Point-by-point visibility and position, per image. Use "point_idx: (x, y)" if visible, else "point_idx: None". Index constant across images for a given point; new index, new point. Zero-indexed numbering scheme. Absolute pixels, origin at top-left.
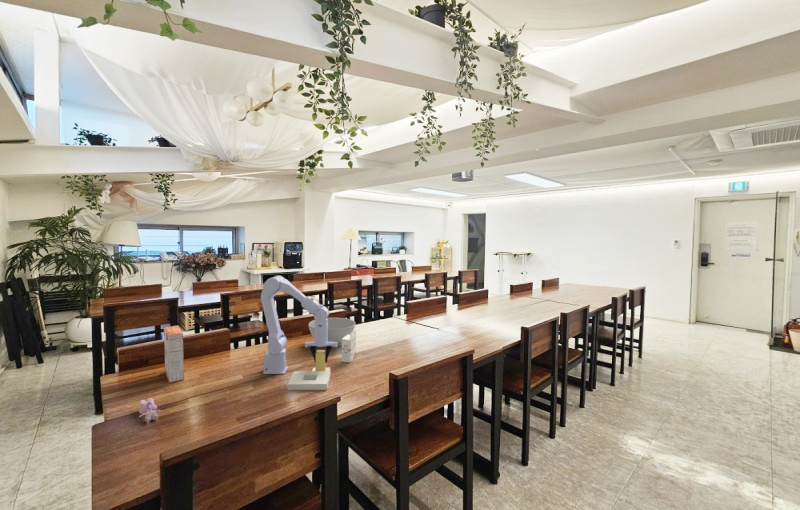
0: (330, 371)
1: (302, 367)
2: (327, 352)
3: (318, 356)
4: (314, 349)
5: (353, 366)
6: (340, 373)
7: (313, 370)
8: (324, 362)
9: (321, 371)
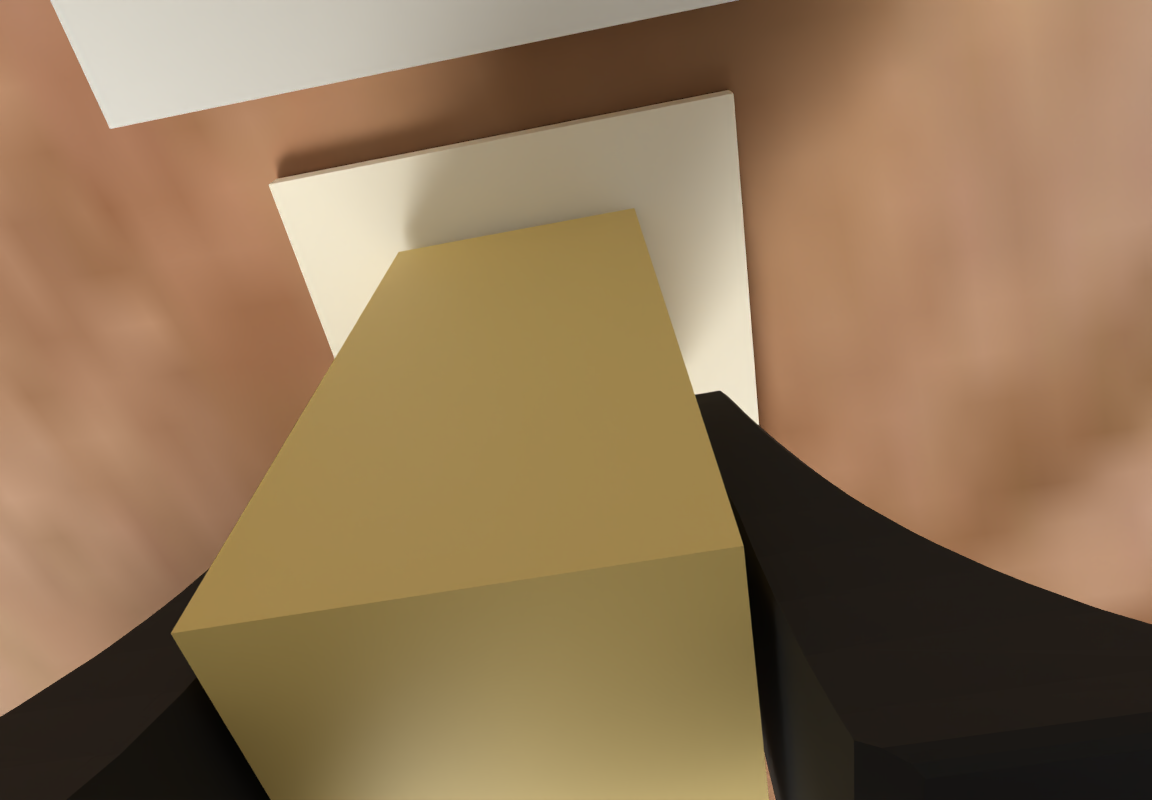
0: (98, 103)
1: (1002, 480)
2: (55, 726)
3: (561, 457)
4: (944, 771)
5: (12, 659)
6: (55, 325)
7: (725, 345)
8: (340, 366)
9: (381, 51)
